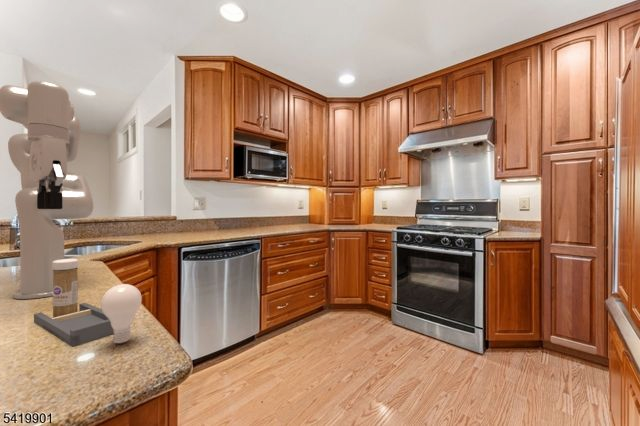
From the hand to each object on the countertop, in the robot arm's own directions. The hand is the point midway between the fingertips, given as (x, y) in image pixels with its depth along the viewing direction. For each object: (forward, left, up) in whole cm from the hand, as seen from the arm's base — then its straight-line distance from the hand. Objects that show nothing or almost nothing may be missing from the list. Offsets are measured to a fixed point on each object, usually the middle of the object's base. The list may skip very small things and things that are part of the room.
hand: (49, 208), depth 72 cm
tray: (+18, 0, -25) cm, 31 cm away
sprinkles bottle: (+10, 0, -26) cm, 27 cm away
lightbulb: (+35, +1, -26) cm, 43 cm away
